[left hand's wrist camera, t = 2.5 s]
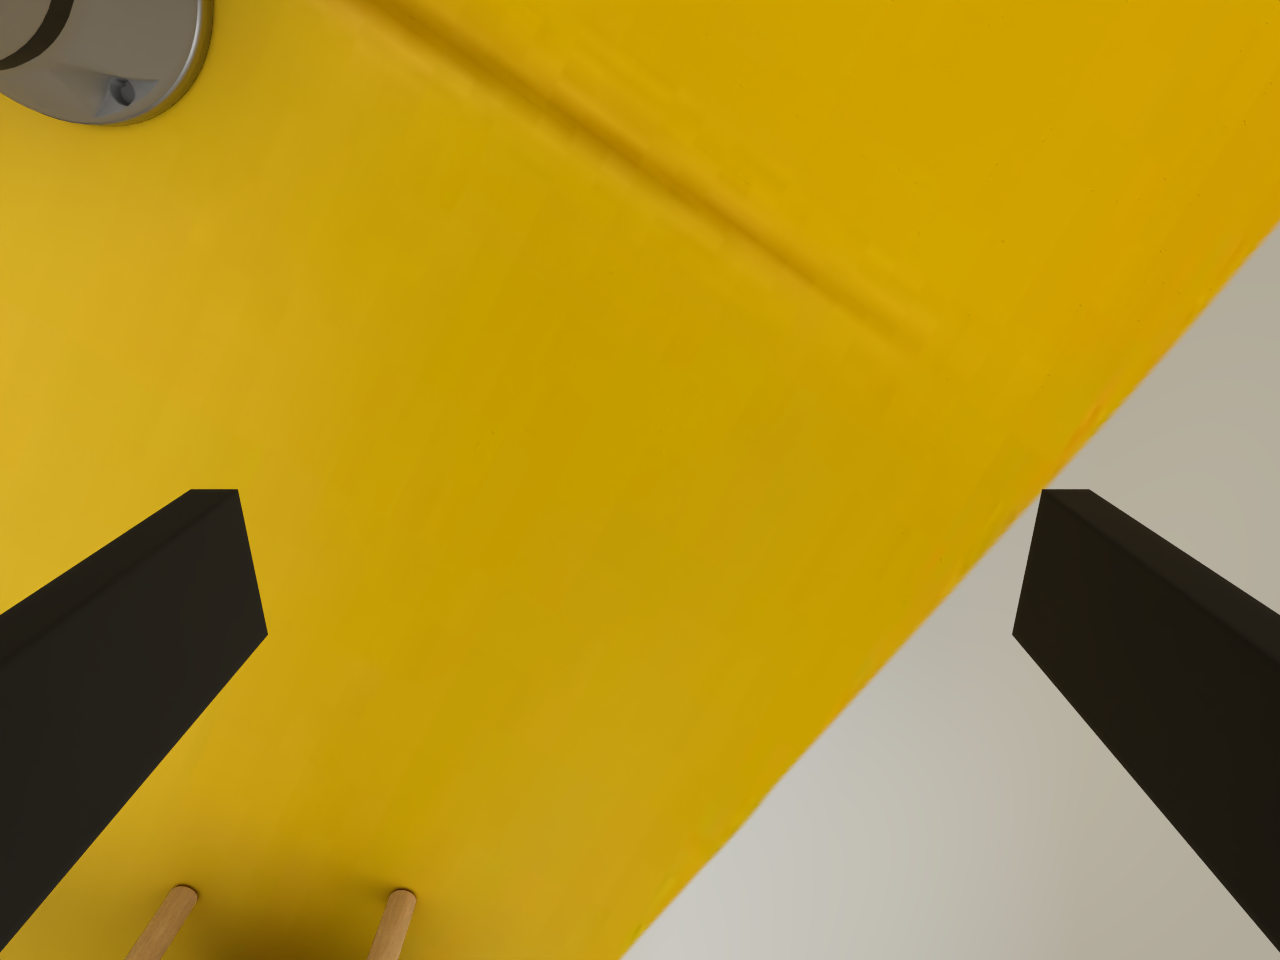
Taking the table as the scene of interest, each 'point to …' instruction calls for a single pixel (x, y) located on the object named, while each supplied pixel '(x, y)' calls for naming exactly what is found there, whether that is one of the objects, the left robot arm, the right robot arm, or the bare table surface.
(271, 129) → the table surface
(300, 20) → the table surface
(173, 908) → the planter
